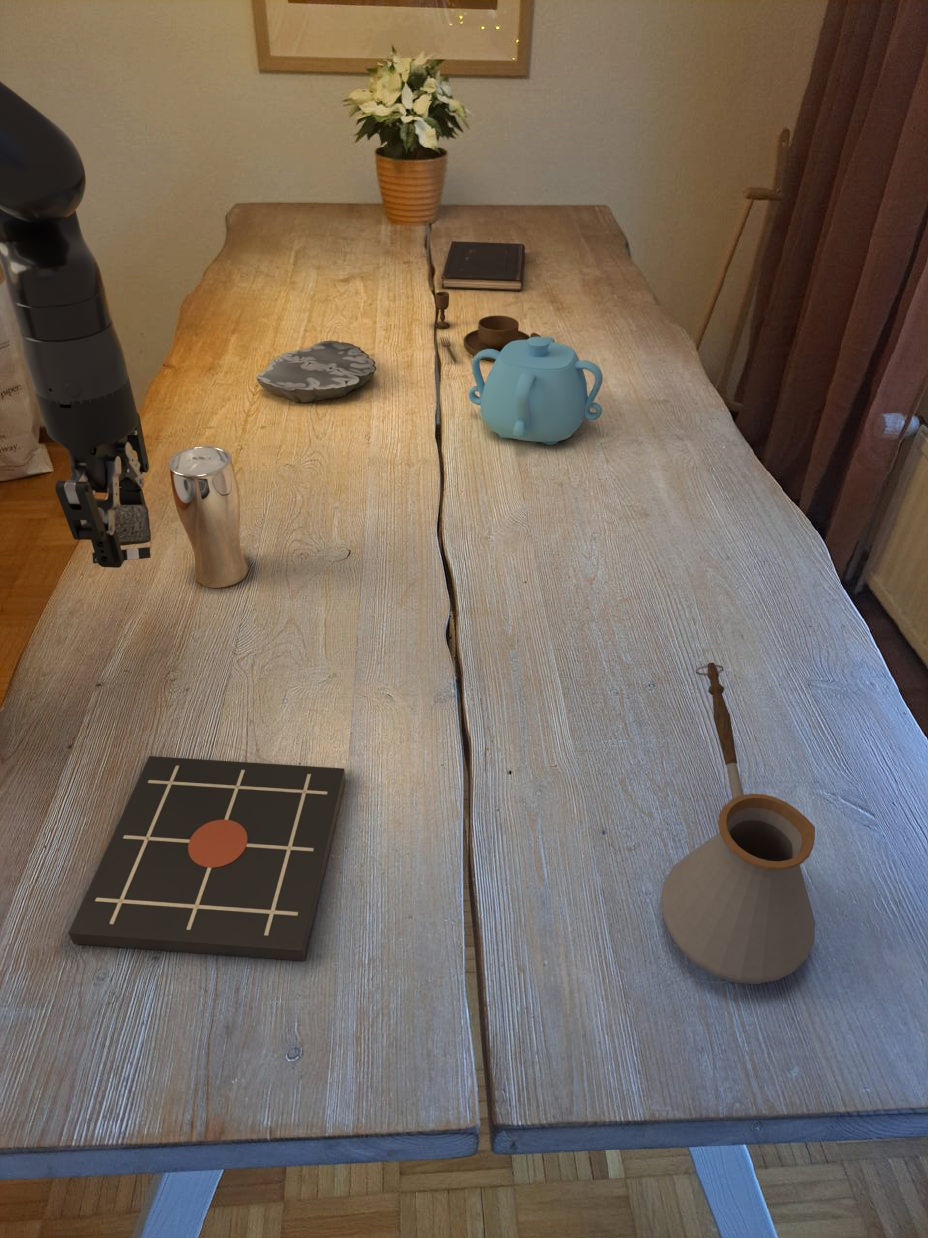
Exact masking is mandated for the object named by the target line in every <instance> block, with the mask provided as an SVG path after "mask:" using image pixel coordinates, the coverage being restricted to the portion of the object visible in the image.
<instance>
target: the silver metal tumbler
mask: <svg viewBox="0 0 928 1238" xmlns="http://www.w3.org/2000/svg"><path fill="white" fill-rule="evenodd" d="M168 468H169V475H170V483H171V489H172V490H171V491H172V496H173V500H174V504H175V508H176V511H177V514H178V517H179V519H180V522H181V524H182V526H183V529H184V531H185V533H186V535H187V538H188V540H189V542H190V545H191V547H192V552H193V555H194V576H195V579H196V581H197V582H198V583H199V584H200V585H202V586H204V587H207V588H213V589H222V588H227V587H231V586H234V585H237V584H238V583H240V582H241V581H243V580H244V579H245V578H246V576H247V575H248V572H249V566H248V563H247V561H246V558H245V555H244V553H243V550H242V546H241V539H240V537H241V536H240V535H241V533H240V532H241V530H240V529H241V499H240V498H241V496H240V491H239V490H240V488H239V484H238V479H237V476H236V475H237V474H236V471H235V468H234V465H233V461H232V455H231V454H230V452H229V451H228V450H227V449H225V448H222V447H219V446H214V445H198V446H192V447H188V448H185V449H182V450H180V451H178V452H176V453H175V454H174V455H173V456H171V458H170V459H169V462H168Z"/></svg>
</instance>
